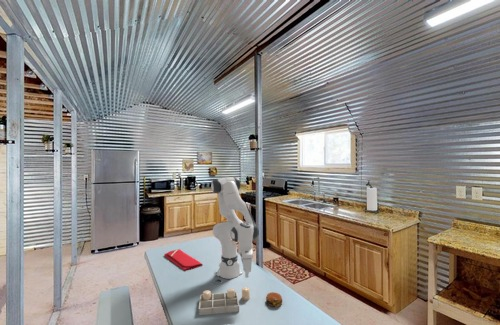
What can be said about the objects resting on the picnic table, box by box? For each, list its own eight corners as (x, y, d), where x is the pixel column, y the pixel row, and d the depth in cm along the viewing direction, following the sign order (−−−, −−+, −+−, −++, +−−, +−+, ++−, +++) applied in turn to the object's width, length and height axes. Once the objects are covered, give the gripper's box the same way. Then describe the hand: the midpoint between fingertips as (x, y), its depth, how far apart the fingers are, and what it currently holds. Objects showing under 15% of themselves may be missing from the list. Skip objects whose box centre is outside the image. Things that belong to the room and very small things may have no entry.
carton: (200, 300, 142) (200, 294, 142) (237, 297, 145) (237, 291, 145) (198, 316, 127) (198, 309, 127) (239, 312, 130) (239, 305, 130)
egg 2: (227, 298, 142) (227, 288, 142) (234, 298, 143) (234, 288, 143) (227, 303, 138) (227, 292, 138) (235, 302, 138) (235, 292, 139)
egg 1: (202, 300, 140) (202, 290, 141) (210, 300, 141) (210, 290, 141) (202, 305, 136) (202, 294, 136) (210, 304, 137) (210, 294, 137)
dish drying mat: (184, 272, 181) (184, 267, 181) (163, 256, 212) (163, 252, 212) (202, 266, 191) (202, 261, 191) (180, 252, 222) (180, 248, 222)
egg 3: (241, 297, 145) (241, 287, 145) (248, 296, 146) (248, 287, 146) (242, 301, 141) (242, 291, 141) (250, 301, 141) (249, 291, 141)
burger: (275, 296, 146) (275, 289, 146) (285, 304, 138) (285, 296, 138) (262, 301, 141) (262, 293, 141) (272, 309, 133) (272, 301, 133)
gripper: (238, 245, 153) (239, 266, 153) (242, 256, 133) (242, 281, 133) (248, 244, 154) (248, 266, 154) (253, 256, 134) (253, 280, 134)
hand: (245, 273), depth 143 cm, fingers open, 8 cm apart
